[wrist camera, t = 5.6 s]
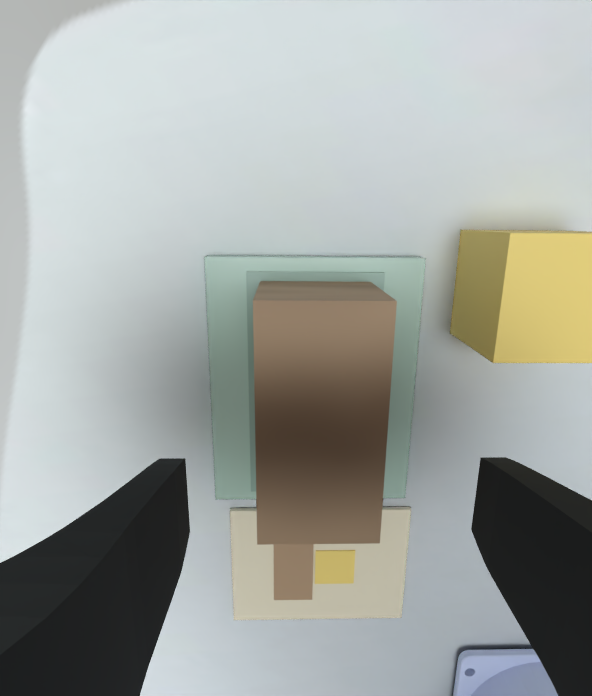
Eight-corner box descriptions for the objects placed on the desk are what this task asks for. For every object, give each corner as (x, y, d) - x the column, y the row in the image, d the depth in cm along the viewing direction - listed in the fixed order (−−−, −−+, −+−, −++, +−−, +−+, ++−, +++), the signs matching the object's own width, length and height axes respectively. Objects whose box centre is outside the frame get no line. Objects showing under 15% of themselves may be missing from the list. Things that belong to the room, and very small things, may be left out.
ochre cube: (547, 332, 18) (616, 363, 15) (449, 332, 18) (493, 362, 14) (564, 230, 17) (644, 234, 13) (459, 229, 17) (510, 232, 13)
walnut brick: (360, 476, 19) (379, 543, 15) (262, 477, 19) (257, 544, 15) (370, 281, 16) (396, 301, 13) (260, 280, 16) (252, 300, 13)
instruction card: (400, 614, 22) (401, 618, 22) (234, 616, 22) (233, 621, 22) (410, 506, 20) (411, 510, 20) (230, 508, 20) (229, 511, 20)
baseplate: (400, 487, 20) (406, 501, 19) (218, 488, 20) (214, 502, 19) (419, 256, 17) (427, 258, 16) (207, 255, 17) (203, 257, 16)
